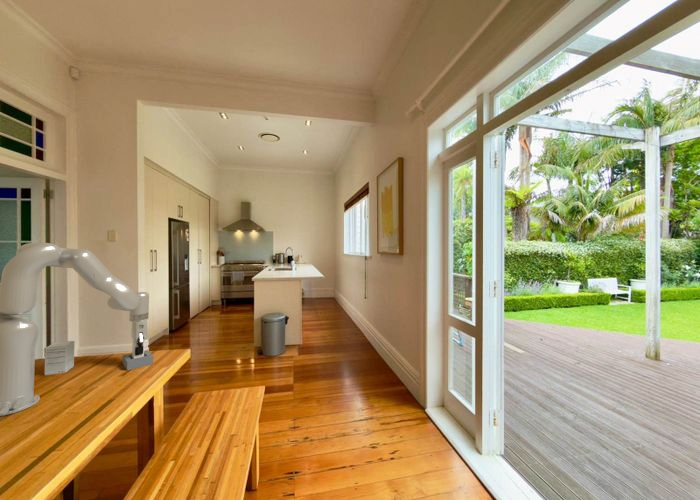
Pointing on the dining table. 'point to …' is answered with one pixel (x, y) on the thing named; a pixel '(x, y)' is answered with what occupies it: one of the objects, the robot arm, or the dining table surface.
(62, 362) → the supplement box
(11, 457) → the dining table surface
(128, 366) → the socket board
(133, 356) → the peg
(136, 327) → the robot arm
